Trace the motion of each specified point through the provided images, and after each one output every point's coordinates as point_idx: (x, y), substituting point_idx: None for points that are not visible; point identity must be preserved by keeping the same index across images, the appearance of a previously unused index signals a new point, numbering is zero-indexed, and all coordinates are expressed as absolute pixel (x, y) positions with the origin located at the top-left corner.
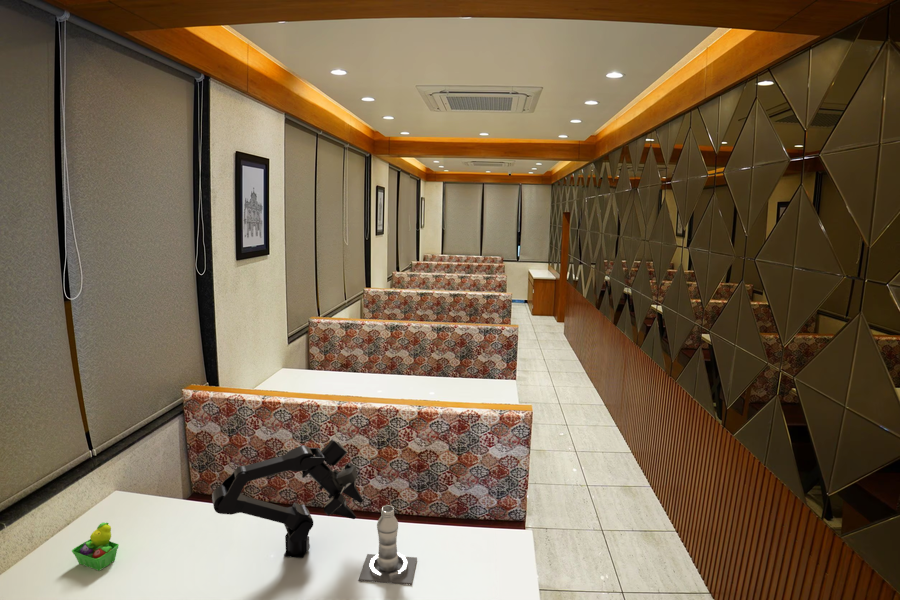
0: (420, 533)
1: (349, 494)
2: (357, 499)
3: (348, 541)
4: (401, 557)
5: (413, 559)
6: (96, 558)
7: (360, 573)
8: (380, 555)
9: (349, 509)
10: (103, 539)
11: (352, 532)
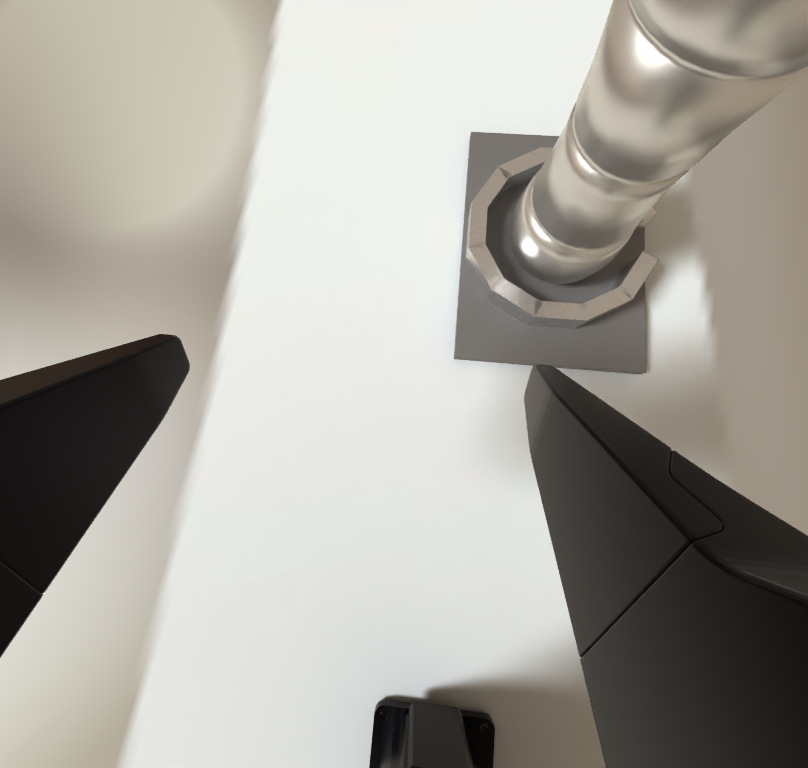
0: (284, 137)
1: (39, 551)
2: (147, 407)
3: (340, 474)
4: (511, 176)
5: (486, 144)
6: None
7: (603, 368)
8: (636, 225)
9: (652, 455)
10: None
11: (262, 465)
